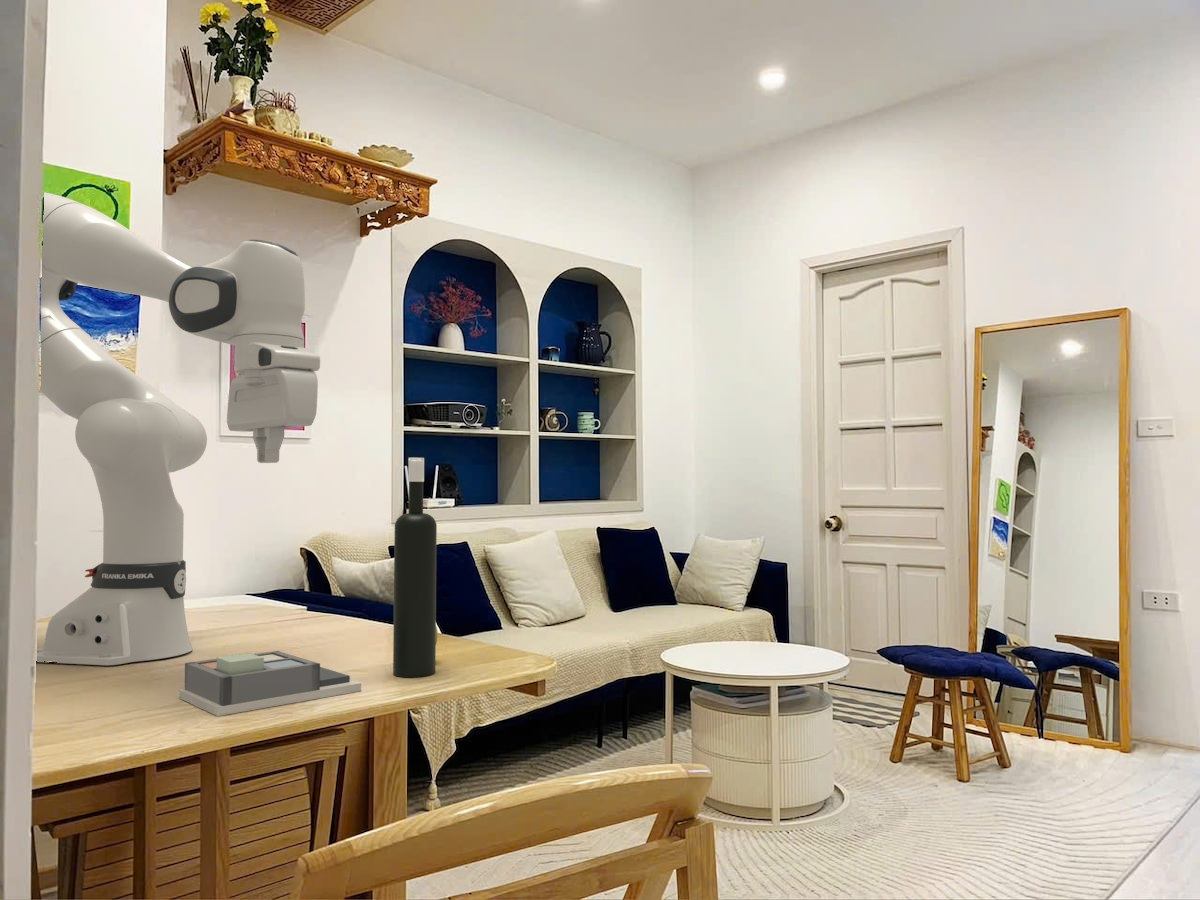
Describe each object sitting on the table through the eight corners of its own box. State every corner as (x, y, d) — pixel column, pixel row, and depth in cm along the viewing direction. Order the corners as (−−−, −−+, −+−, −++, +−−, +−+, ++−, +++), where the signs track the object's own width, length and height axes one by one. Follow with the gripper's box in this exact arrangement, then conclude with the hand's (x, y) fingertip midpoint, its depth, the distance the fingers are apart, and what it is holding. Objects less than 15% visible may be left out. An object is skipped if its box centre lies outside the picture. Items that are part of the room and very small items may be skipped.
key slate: (273, 687, 108) (273, 668, 108) (258, 682, 110) (259, 664, 111) (304, 682, 110) (304, 664, 111) (289, 677, 113) (290, 659, 113)
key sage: (229, 681, 104) (230, 662, 104) (216, 676, 107) (216, 657, 107) (263, 676, 107) (263, 657, 107) (249, 671, 110) (249, 653, 110)
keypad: (217, 716, 102) (218, 678, 102) (179, 698, 110) (179, 663, 110) (361, 690, 114) (361, 657, 114) (316, 676, 123) (316, 645, 123)
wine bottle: (433, 668, 129) (435, 458, 130) (437, 676, 123) (439, 457, 124) (392, 670, 127) (394, 458, 128) (394, 678, 121) (396, 456, 123)
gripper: (215, 366, 127) (214, 463, 127) (280, 350, 113) (278, 460, 112) (259, 370, 132) (258, 464, 131) (327, 355, 117) (325, 461, 116)
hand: (268, 462), depth 121 cm, fingers closed
